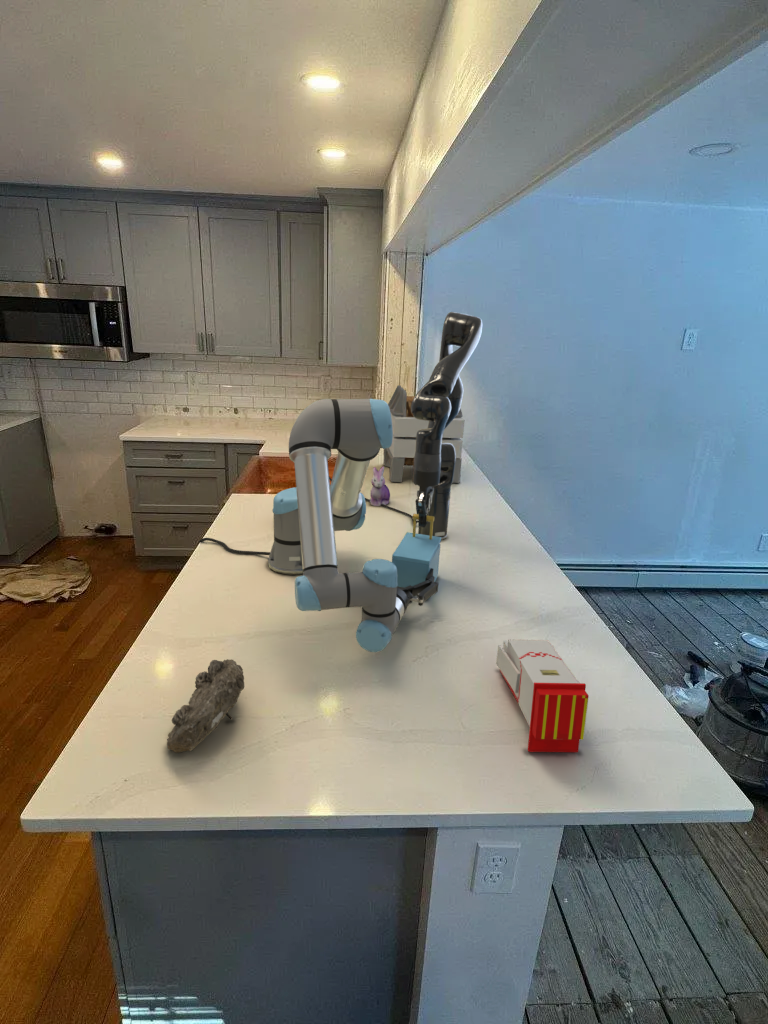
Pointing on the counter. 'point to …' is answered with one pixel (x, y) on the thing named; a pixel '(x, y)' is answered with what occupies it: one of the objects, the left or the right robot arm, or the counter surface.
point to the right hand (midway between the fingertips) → (422, 525)
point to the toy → (545, 694)
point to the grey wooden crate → (406, 434)
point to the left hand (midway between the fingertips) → (412, 569)
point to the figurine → (379, 488)
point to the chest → (415, 570)
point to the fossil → (206, 705)
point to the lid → (417, 545)
